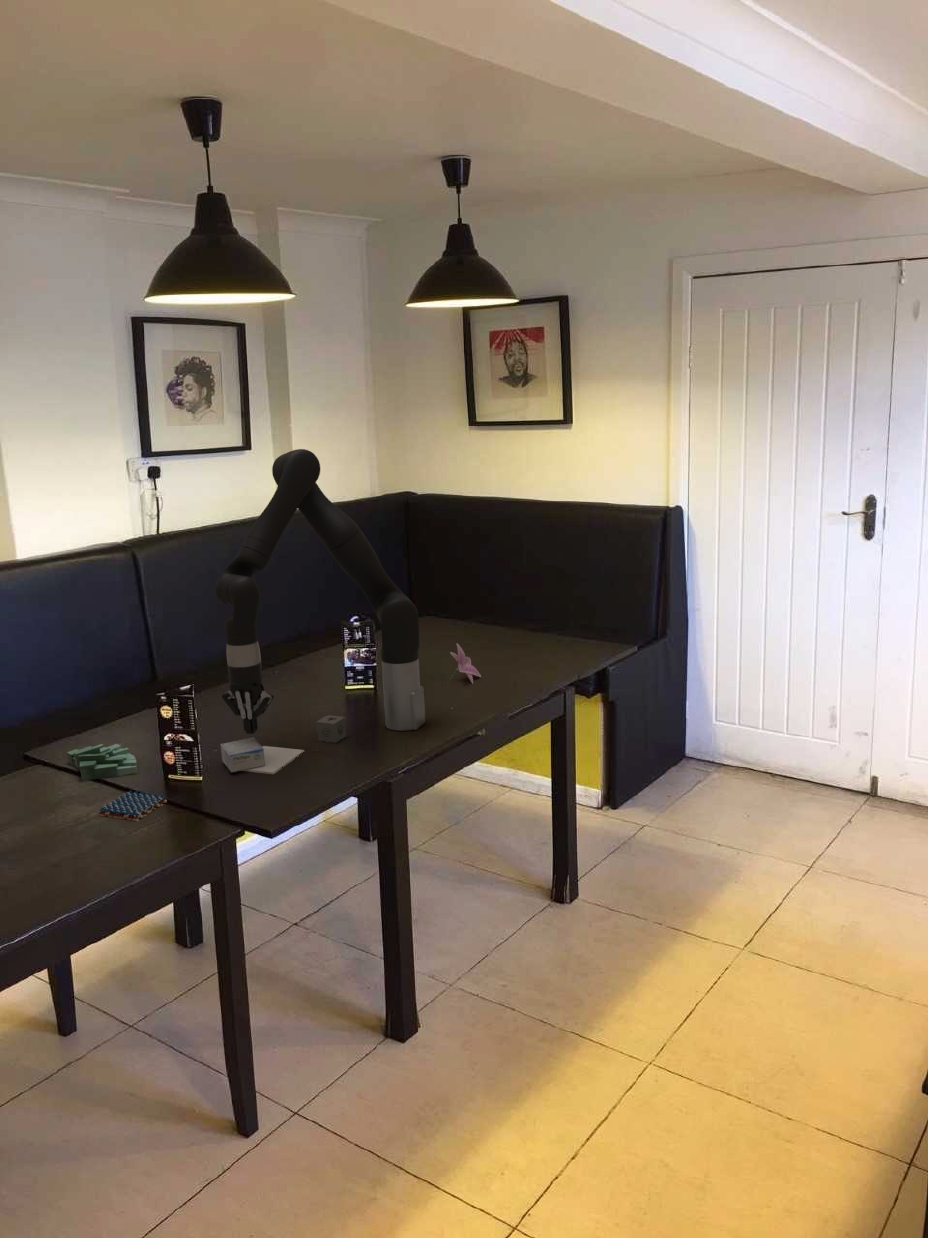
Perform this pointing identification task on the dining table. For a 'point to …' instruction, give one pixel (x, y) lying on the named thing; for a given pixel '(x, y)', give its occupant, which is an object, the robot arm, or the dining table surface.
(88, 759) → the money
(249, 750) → the medicine box
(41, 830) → the dining table surface
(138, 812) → the woven mat
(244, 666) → the robot arm
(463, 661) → the lily
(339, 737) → the dice cube
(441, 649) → the dining table surface
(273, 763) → the mat
